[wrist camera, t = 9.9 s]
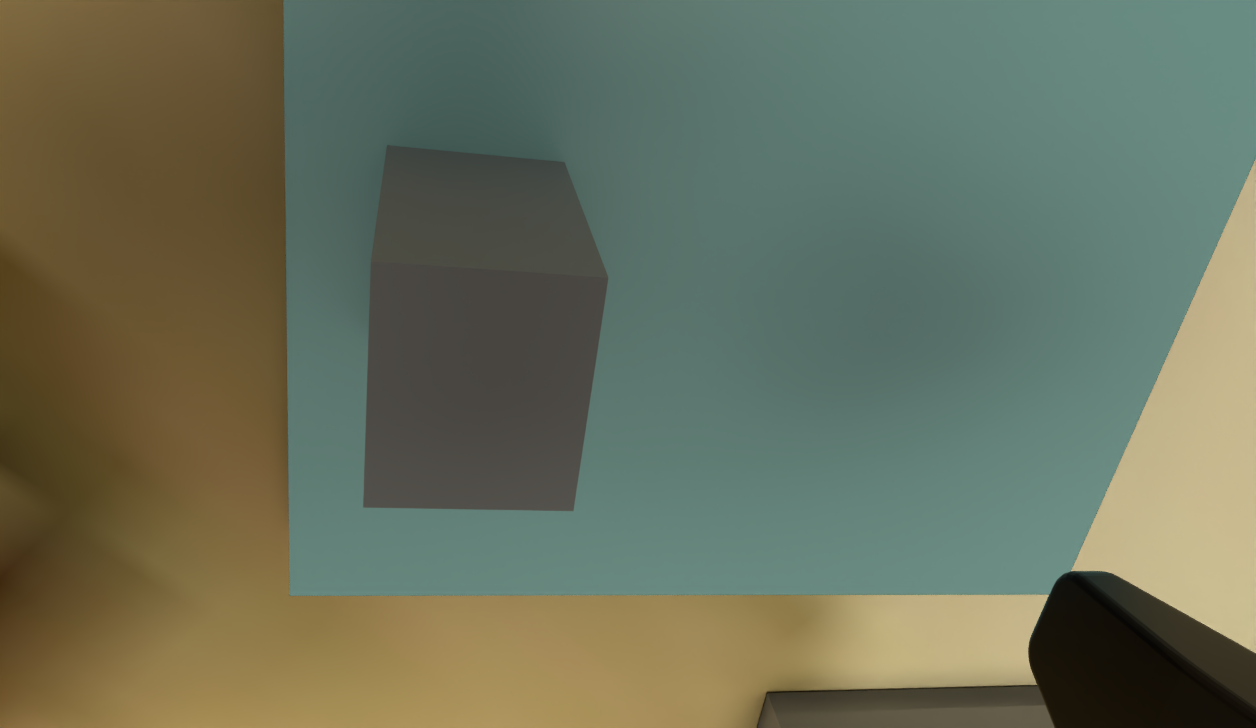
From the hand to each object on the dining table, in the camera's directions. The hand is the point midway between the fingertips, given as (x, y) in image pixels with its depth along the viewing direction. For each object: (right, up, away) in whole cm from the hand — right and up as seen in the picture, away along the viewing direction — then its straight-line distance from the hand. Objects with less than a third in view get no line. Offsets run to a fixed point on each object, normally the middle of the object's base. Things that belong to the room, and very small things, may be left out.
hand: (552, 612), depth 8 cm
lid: (+3, +4, +9) cm, 10 cm away
